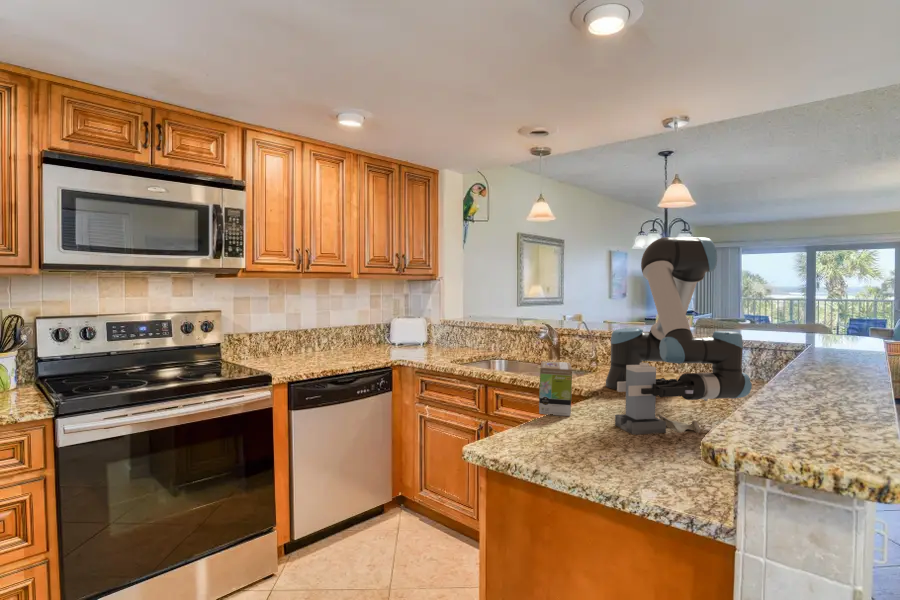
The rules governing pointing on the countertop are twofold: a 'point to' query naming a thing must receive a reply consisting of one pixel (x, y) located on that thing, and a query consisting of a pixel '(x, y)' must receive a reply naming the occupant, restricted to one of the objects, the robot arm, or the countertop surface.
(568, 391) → the tea box
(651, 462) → the countertop surface
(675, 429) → the fossil
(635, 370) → the grey tall block
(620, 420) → the pocket
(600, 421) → the countertop surface
